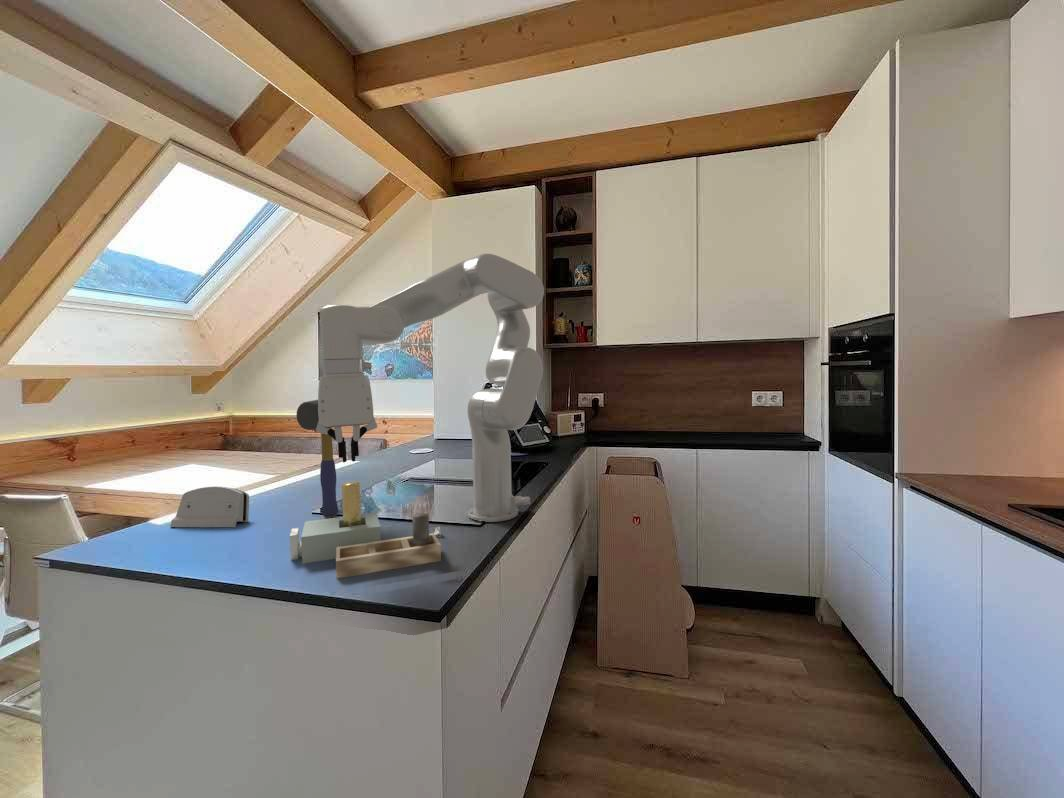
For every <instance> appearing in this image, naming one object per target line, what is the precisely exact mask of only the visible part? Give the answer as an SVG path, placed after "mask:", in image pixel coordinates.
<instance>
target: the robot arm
mask: <svg viewBox="0 0 1064 798" xmlns="http://www.w3.org/2000/svg"><path fill="white" fill-rule="evenodd" d="M483 294H487V300H488V303H489V305H490V308H491V309H492V312H493V314H494V315H495V318H496V323H497V330H496V334H495V338H494V341H493V344H492V346H491V351H490V353H489V356H488V358H487V362H486V366H485V376H486V379H487V380H488V381H489V382H490V383H492V384H493V385H496V386H499V387H500V386H502V387H503V388H483V389H480V390H478V391H476V392H475V393H473V394H472V395H471V397H470V399H469V401H468V403H467V417H468V423H469V428H470V433H471V443H472V444H471V448H472V449H471V451H472V456H471V457H472V479H473V480H472V484H473V485H472V486H473V506H472V507H471V508H469V509H468V511H467V517H468V518H469V519H470V518H471V519H470V520H472V519H474V520H473V521H475V520H481V521H485V522H484V523H497V522H505V521H509V520H512V519H514V518H515V517H517V516H518V514H519V509H518V507H519V506H522V505H523V506H525V505H526V506H527V505H530V504H531V498H530V496H522V495H518V496H517V495H516V496H514V495H513V494H512V461H511V460H512V459H511V455H512V454H511V453H512V449H511V448H512V446H511V445H512V444H511V439H510V435H509V432H508V431H516V430H519V429H521V428H523V427H524V426H525V425H526V423H527V422H528V421H529V419H530V418H531V415H532V412H533V409H534V406H535V402H536V400H537V396H538V393H539V389H540V386H541V383H542V379H543V373H544V364H543V360H542V357H541V355H540V354H539V353H538V352H537V351H536V350H535V349H533V348H531V347H528V345H529V342H530V337H531V327H530V324H529V322H528V319H527V317H526V314H525V313H524V310H529V309H532V308H533V309H534V307H537V306H538V305H539V304H540V303H541V302H542V301H543V299H544V295H545V287H544V284H543V281H542V280H541V278H540V277H539V276H538V275H537V274H536V273H535V272H533V271H531V270H529V269H527V268H526V267H523V266H520V265H518V264H516V263H515V262H513V261H510V260H509V259H506V258H504V257H501V256H499V255H496V254H492V253H482V254H480V255H479V254H478V255H477V256H476V255H475V256H474V257H470V258H467V259H465V260H463V261H460V262H458V263H456V264H454V265H452V266H450V267H447V268H446V269H444V270H442V271H439V272H437V273H435V274H433V275H432V276H429V277H427V278H425V279H422V280H421V281H419V282H417V283H414V284H413V285H410V286H409V287H408V288H406V289H404V290H402V291H400V292H398V293H396V294H393V295H392V296H390V297H387V298H385V299H384V300H381V301H379V302H377V303H375V304H373V305H371V306H359V307H358V306H354V305H347V304H332V305H326V306H323V307H322V308H321V310H320V311H319V312H320V313H319V317H320V322H319V323H320V337H321V351H322V353H321V354H322V368H323V370H322V371H323V373H322V374H323V376H320V377H319V381H318V390H317V391H318V392H317V393H318V394H317V400H318V416H319V421H318V424H317V428H316V430H315V431H316V433H318V434H321V433H322V434H327V435H330V436H331V437H332V440H335V441H336V443H337V449H338V458H339V459H340V458H341V459H342V463H346V462H347V461H348V460H347V446H346V445H347V444H346V443H347V442H346V440H345V437H344V436H343V430H342V429H343V428H342V427H352V436H351V437H350V438H351V439H350V453H351V454H350V455H351V457H350V459H351V462H356V457H360V453H359V449H360V448H359V440H361V438H363V436H364V435H365V434H366V433H367V432H370V431H373V430H375V429H377V428H378V424H377V421H376V419H375V417H374V404H373V394H372V388H371V382H370V378H369V375H368V374H367V375H365V372H366V371H368V370H372V362H367V361H364V346H363V345H366V346H373V345H374V346H375V345H382V344H388V343H392V342H394V341H396V340H398V339H399V338H400V337H401V336H402V334H403V332H404V330H405V328H407V327H410V326H412V325H415V324H418V323H422V322H425V321H429V320H431V319H435V318H437V317H440V316H443V315H444V314H446V313H448V312H450V311H452V310H453V309H455V308H457V307H459V306H460V305H463V304H464V303H466V302H468V301H470V300H472V299H473V298H476V297H478V296H480V295H483ZM327 427H332V428H327ZM481 521H480V522H481Z"/></svg>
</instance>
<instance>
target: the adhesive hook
mask: <svg viewBox="0 0 1064 798" xmlns="http://www.w3.org/2000/svg"><path fill="white" fill-rule="evenodd" d="M434 530H435V531H434V532H433V533H434V534H435V536H436V538H441V528H440V527H439V526H437V527H435V529H434Z"/></svg>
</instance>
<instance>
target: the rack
mask: <svg viewBox="0 0 1064 798" xmlns="http://www.w3.org/2000/svg"><path fill="white" fill-rule="evenodd" d="M429 516H430V515H429V513H427V512H418V513H413V515H412V516H411V517H412V535H411V536H402V537H398V538H396V537H395V538H391V539H383V540H381V541H376V542H369V543H362V544H355V545H348V546H341V547H336V559H335V568H336V579H341V578H347V577H353V576H360V575H366V574H371V573H378V572H383V571H388V570H393V569H395V570H396V569H402V568H406V567H411V566H419V565H425V564H431V563H436V562H442V549H441V548H442V547H441V546H442V545H441V543H440V540H438V537H437V535H435V534H434V532H432V533H430V521H429V520H430V519H429Z"/></svg>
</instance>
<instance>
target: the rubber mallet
mask: <svg viewBox="0 0 1064 798" xmlns="http://www.w3.org/2000/svg"><path fill="white" fill-rule="evenodd" d="M296 420H297V423H298V425H299V426H300V427H301V428H302V429H304V430H307V431H313V430H315V431H316V428H317V424H318V421H319V416H318V399H315V400H309V401H304V402H302V403H301V404H299V406H298V408H297V409H296ZM327 428H332V429H333V427H327ZM320 438H321V439H320V440H321V462H320V470H319V471H320V472H319V473H320V477H319V478H320V479H319V480H320V486H321V493H322V494H321V496H322V499H321V500H322V505H321V514H322V516H323V518H324V517H326V518H325V519H329V517H333V518H335V517H337V515H338V513H339V506H338V502H337V470H336V463H335V461H334V451H333V450H334V448H333V438H332V437H331V436H330V435H327V434H322V433H320ZM334 516H335V517H334Z"/></svg>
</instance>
